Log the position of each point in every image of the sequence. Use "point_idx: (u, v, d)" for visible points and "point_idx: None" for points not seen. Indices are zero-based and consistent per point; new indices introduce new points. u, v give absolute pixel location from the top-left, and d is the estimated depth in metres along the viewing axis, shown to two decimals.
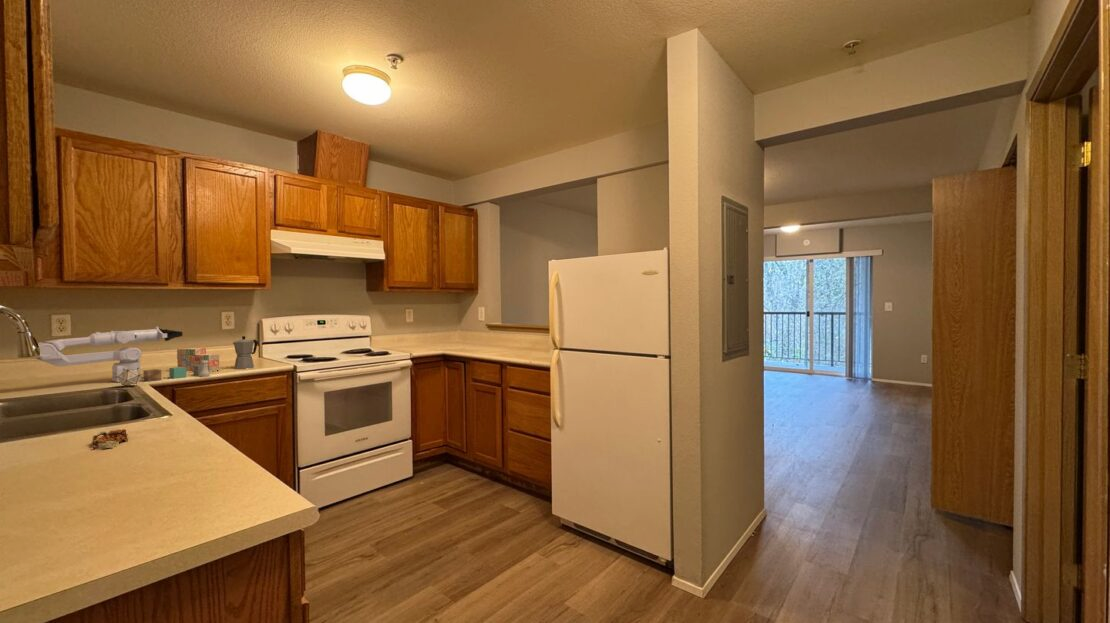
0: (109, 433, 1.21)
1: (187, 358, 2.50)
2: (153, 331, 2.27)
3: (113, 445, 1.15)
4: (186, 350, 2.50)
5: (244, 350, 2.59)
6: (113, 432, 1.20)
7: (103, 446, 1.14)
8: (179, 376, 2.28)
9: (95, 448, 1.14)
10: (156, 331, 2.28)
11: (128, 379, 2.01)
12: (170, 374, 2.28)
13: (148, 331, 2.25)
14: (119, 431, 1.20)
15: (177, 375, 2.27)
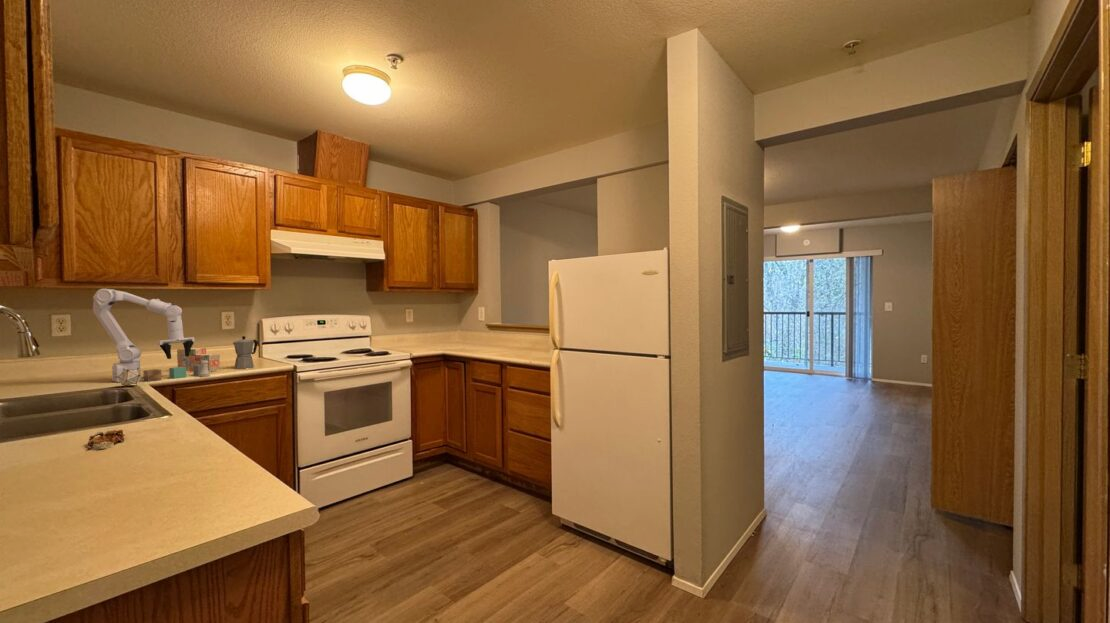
0: (106, 433, 1.20)
1: (187, 358, 2.50)
2: (173, 336, 2.26)
3: (108, 446, 1.15)
4: None
5: (244, 350, 2.59)
6: (109, 433, 1.20)
7: (97, 447, 1.14)
8: (179, 376, 2.28)
9: (89, 449, 1.13)
10: (173, 338, 2.26)
11: (128, 379, 2.01)
12: (170, 374, 2.28)
13: (173, 332, 2.26)
14: (115, 432, 1.19)
15: (177, 375, 2.27)
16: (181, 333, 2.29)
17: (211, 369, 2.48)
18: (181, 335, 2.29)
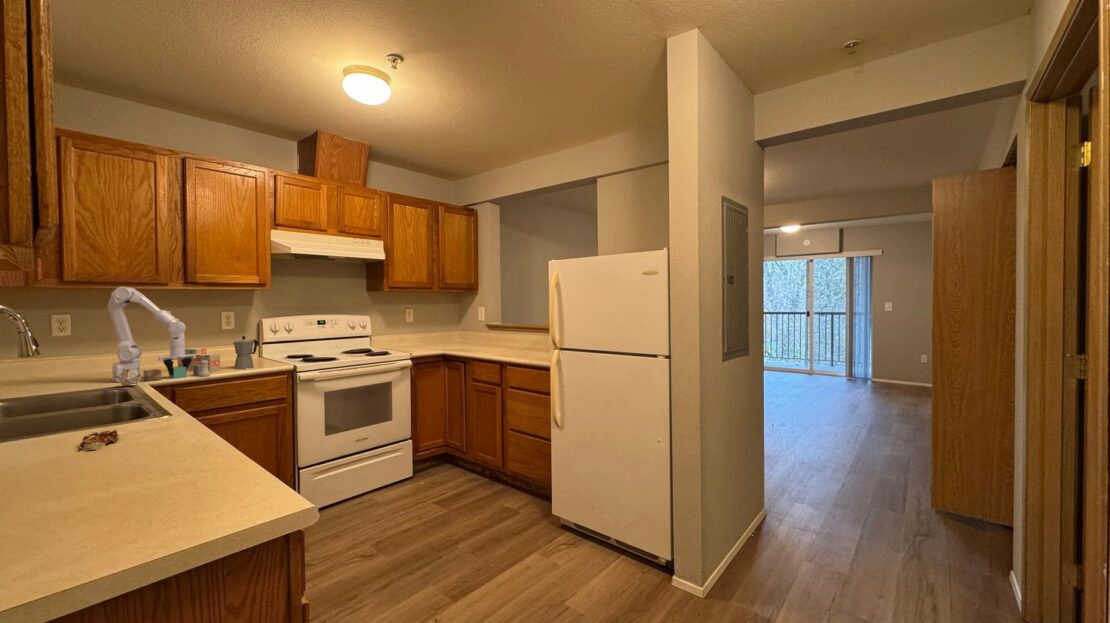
0: (100, 434, 1.20)
1: None
2: (174, 352, 2.26)
3: (98, 447, 1.14)
4: (187, 350, 2.50)
5: (244, 350, 2.59)
6: (103, 433, 1.20)
7: (88, 448, 1.13)
8: (179, 376, 2.28)
9: (80, 449, 1.13)
10: (174, 355, 2.26)
11: (128, 379, 2.01)
12: None
13: (174, 348, 2.26)
14: (108, 432, 1.19)
15: (177, 375, 2.27)
16: (182, 350, 2.29)
17: (212, 369, 2.48)
18: (182, 352, 2.29)
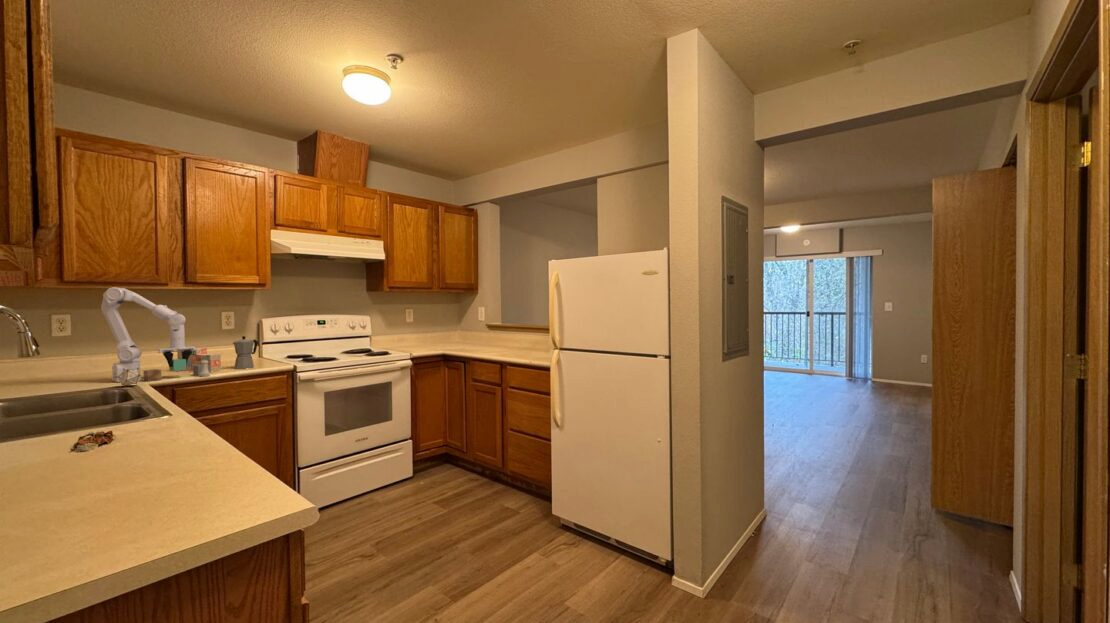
0: (95, 434, 1.20)
1: (188, 358, 2.49)
2: (174, 344, 2.26)
3: (90, 448, 1.13)
4: None
5: (244, 350, 2.59)
6: (98, 433, 1.19)
7: (80, 448, 1.12)
8: (179, 368, 2.27)
9: (73, 450, 1.12)
10: (173, 347, 2.26)
11: (128, 379, 2.01)
12: None
13: (174, 340, 2.26)
14: (102, 433, 1.18)
15: (176, 367, 2.27)
16: (182, 342, 2.29)
17: (212, 369, 2.48)
18: (182, 344, 2.29)
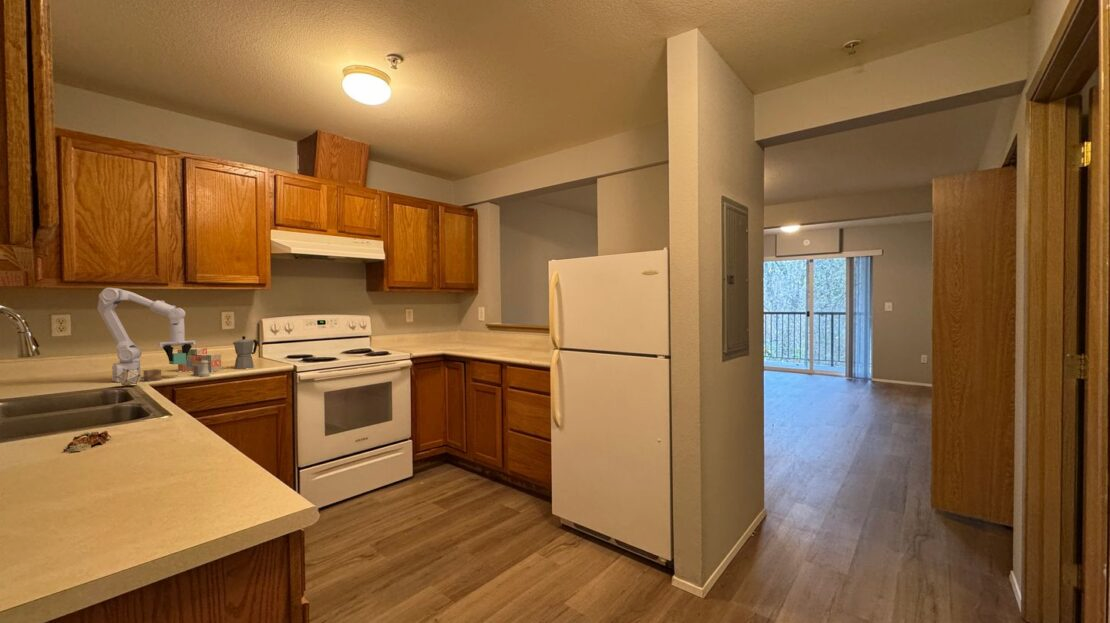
0: (90, 434, 1.19)
1: (188, 358, 2.49)
2: (174, 338, 2.26)
3: (83, 448, 1.13)
4: None
5: (244, 350, 2.59)
6: (93, 434, 1.19)
7: (72, 449, 1.12)
8: (179, 362, 2.27)
9: (65, 450, 1.12)
10: (173, 340, 2.26)
11: (128, 379, 2.01)
12: None
13: (174, 334, 2.26)
14: (96, 433, 1.18)
15: (176, 361, 2.27)
16: (182, 336, 2.29)
17: (213, 369, 2.48)
18: (182, 338, 2.29)
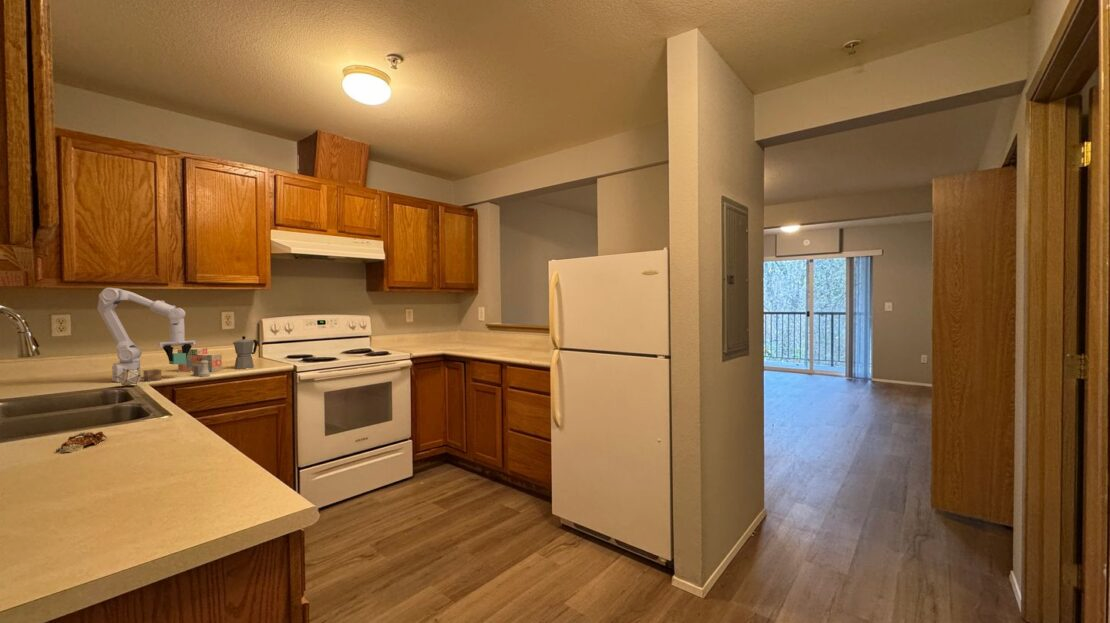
0: (85, 435, 1.19)
1: (189, 358, 2.49)
2: (174, 338, 2.26)
3: (74, 449, 1.12)
4: None
5: (244, 350, 2.59)
6: (87, 434, 1.19)
7: (64, 450, 1.12)
8: (179, 362, 2.27)
9: (57, 451, 1.11)
10: (173, 340, 2.26)
11: (128, 379, 2.01)
12: None
13: (174, 334, 2.26)
14: (89, 434, 1.17)
15: (176, 361, 2.27)
16: (182, 336, 2.29)
17: (214, 369, 2.48)
18: (182, 338, 2.29)
